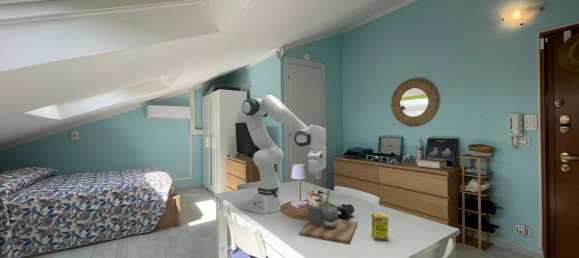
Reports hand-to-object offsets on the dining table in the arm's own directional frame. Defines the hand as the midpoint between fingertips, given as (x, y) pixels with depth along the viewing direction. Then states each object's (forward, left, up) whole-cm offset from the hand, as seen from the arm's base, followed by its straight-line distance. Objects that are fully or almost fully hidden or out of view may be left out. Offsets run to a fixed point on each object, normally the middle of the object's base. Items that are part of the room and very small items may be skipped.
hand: (318, 178), depth 135 cm
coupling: (+4, -6, -22) cm, 23 cm away
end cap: (+12, +13, -24) cm, 30 cm away
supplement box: (+32, -7, -24) cm, 41 cm away
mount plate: (+8, -7, -24) cm, 26 cm away
